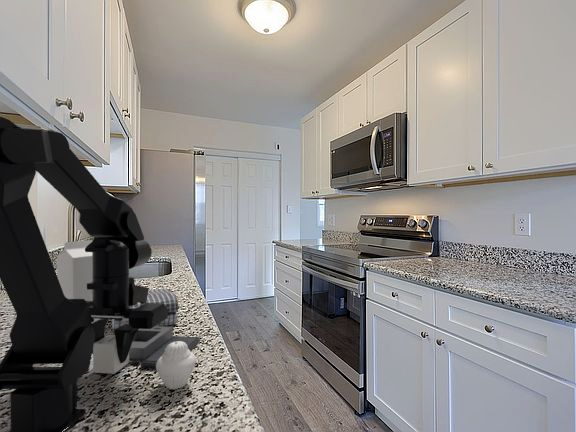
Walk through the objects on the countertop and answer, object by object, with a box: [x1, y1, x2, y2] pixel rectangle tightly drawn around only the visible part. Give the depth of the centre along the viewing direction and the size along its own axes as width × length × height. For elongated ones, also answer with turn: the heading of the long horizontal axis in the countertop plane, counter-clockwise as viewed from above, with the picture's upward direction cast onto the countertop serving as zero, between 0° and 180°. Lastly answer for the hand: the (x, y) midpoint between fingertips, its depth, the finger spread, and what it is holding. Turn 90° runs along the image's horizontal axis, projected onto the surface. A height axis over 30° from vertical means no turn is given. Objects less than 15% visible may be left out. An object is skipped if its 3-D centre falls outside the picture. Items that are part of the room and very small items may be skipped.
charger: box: [92, 334, 130, 375], centre depth 55 cm, size 4×4×5 cm
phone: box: [140, 335, 201, 370], centre depth 61 cm, size 12×6×1 cm, turn 173°
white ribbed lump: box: [155, 341, 197, 390], centre depth 50 cm, size 6×6×7 cm
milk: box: [56, 239, 93, 301], centre depth 67 cm, size 6×6×22 cm
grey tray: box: [129, 326, 174, 362], centre depth 63 cm, size 11×8×2 cm
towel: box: [110, 288, 179, 334], centre depth 81 cm, size 15×18×8 cm
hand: (111, 361), depth 55 cm, fingers closed on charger, 4 cm apart
